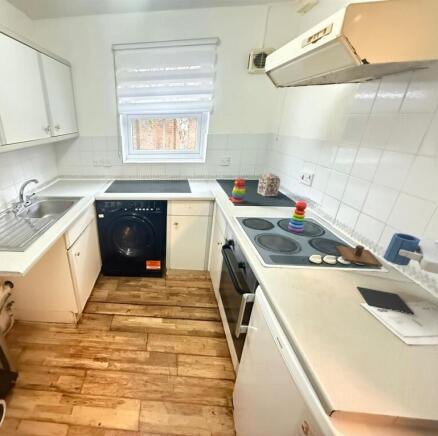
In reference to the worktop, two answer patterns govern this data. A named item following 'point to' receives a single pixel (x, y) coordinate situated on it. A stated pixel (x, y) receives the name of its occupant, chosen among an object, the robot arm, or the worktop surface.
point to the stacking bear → (238, 191)
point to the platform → (357, 259)
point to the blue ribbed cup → (400, 243)
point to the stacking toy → (298, 217)
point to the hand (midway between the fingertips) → (398, 246)
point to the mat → (384, 300)
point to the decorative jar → (268, 185)
